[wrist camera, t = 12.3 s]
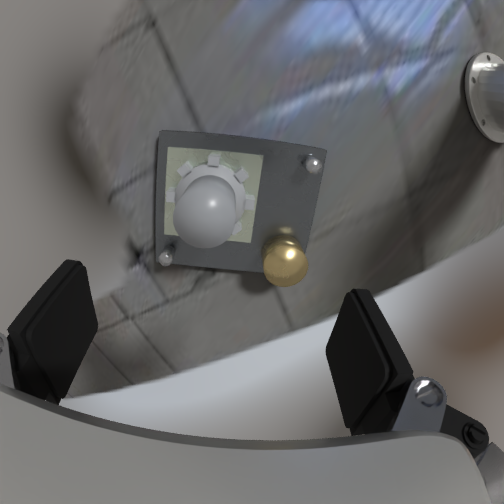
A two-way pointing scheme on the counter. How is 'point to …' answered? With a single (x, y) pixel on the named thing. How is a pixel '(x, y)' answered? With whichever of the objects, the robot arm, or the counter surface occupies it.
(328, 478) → the robot arm
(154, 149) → the counter surface
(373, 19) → the counter surface
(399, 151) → the counter surface
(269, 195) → the carrier plate
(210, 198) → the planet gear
